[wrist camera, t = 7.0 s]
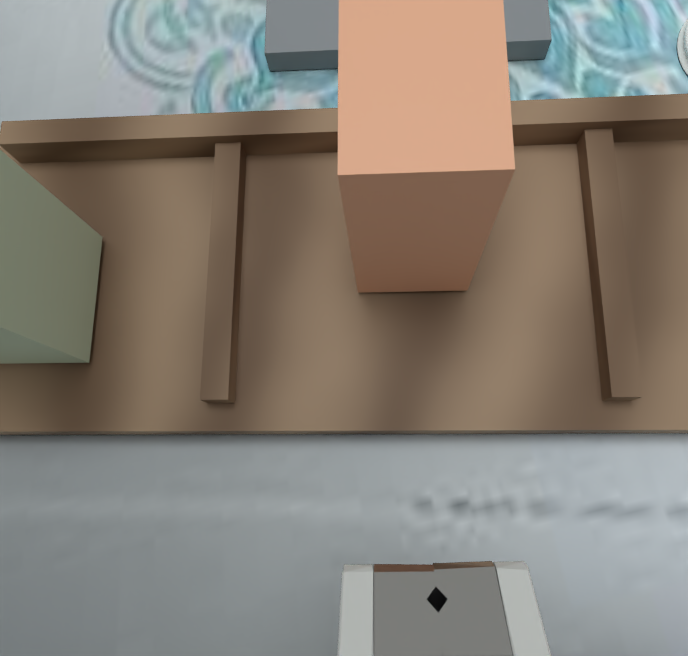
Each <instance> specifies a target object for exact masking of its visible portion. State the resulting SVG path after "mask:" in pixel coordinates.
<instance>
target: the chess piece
mask: <svg viewBox="0 0 688 656" xmlns="http://www.w3.org/2000/svg"><path fill="white" fill-rule="evenodd" d="M677 51H678V57H679V60H680V63H681V65H682V67H683V69H684V71H685V72H686V74H687V75H688V19H687V20H686V22H685V23H684V25H683V26H682V28H681V30H680V33H679V36H678V41H677Z"/></svg>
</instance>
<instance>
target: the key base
mask: <svg viewBox="0 0 688 656" xmlns="http://www.w3.org/2000/svg"><path fill="white" fill-rule="evenodd" d="M510 103H511V117H512V131H513V145H514V159H515V171H514V174H513V176H512V179H511V181H510V184H509V186H508V189H507V191H506V194H505V196H504V199H503V201H502V204H501V207H500V209H499V212H498V214H497V217H496V219H495V222H494V224H493V227H492V229H491V232H490V234H489V237H488V239H487V242H486V244H485V247H484V250H483V252H482V255H481V257H480V260H479V262H478V265H477V267H476V270H475V272H474V275H473V277H472V280H471V282H470V285H469V288H468V290H467V291H415V292H362V293H358V290H357V284H356V279H355V273H354V267H353V261H352V256H351V250H350V244H349V238H348V232H347V227H346V221H345V215H344V209H343V204H342V198H341V192H340V186H339V180H338V108H323V109H299V110H274V111H249V112H224V113H200V114H175V115H150V116H126V117H101V118H76V119H51V120H27V121H2V124H1V131H0V150H1V151H2V152H4V153H5V154H6V155H7V156H8V157H9V158H11V159H12V160H13V161H14V162H15V163H17V164H18V165H19V166H20V167H21V168H22V169H24V170H25V171H26V172H27V173H28V174H29V175H31V176H32V177H33V178H34V179H35V180H36V181H38V182H39V183H40V184H41V185H42V186H43V187H45V188H46V189H47V190H48V191H49V192H50V193H52V194H53V195H54V196H55V197H56V198H57V199H59V200H60V201H61V202H62V203H63V204H64V205H66V206H67V207H68V208H69V209H70V210H71V211H73V212H74V213H75V214H76V215H77V216H79V217H80V218H81V219H82V220H83V221H84V222H86V223H87V224H88V225H89V226H90V227H91V228H93V229H94V230H95V231H96V232H97V233H98V234H100V235H101V236H102V247H101V256H100V266H99V275H98V285H97V294H96V304H95V313H94V322H93V332H92V341H91V351H90V360H89V363H16V364H0V435H108V434H563V433H688V94H670V95H645V96H620V97H595V98H571V99H546V100H521V101H510Z"/></svg>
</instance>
